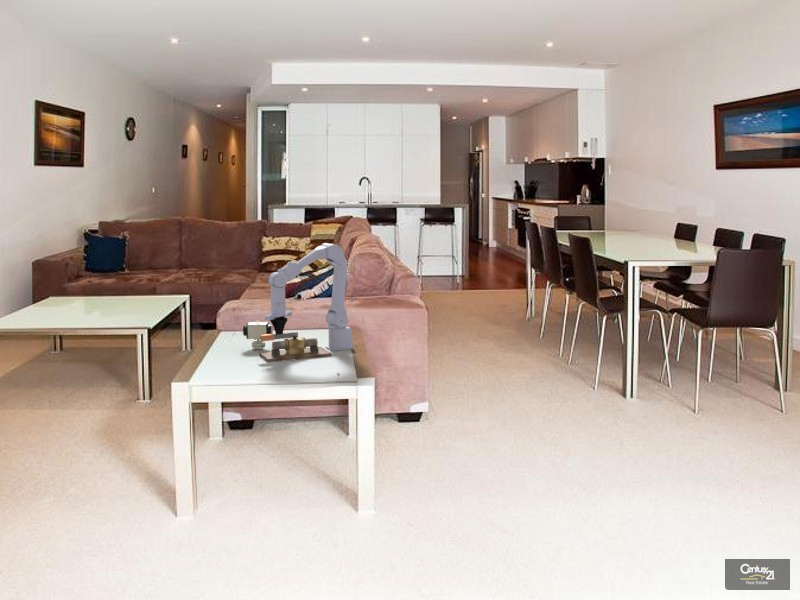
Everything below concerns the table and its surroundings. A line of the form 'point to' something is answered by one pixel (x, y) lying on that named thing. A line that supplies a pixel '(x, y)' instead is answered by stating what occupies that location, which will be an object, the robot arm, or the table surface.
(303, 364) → the table surface
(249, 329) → the pneumatic valve
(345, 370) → the table surface
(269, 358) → the ball valve
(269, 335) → the valve lever
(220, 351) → the table surface
